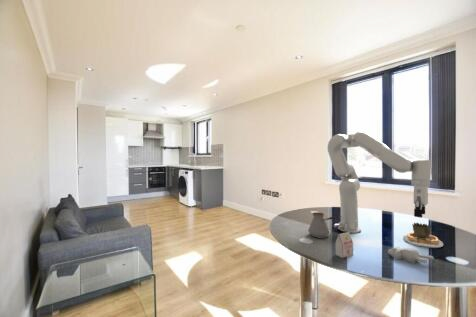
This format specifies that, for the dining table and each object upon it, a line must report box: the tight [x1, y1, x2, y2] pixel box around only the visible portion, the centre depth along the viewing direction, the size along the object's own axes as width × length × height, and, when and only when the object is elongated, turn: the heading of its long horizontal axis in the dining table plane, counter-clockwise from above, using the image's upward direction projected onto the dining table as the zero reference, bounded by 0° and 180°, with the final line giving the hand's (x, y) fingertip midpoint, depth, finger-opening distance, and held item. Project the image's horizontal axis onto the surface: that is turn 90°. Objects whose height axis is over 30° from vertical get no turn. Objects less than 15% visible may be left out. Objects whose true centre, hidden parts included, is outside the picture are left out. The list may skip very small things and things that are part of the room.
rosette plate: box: [402, 231, 444, 249], centre depth 116 cm, size 16×16×3 cm
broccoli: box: [412, 222, 432, 240], centre depth 116 cm, size 8×7×8 cm
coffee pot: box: [307, 211, 343, 239], centre depth 123 cm, size 21×12×15 cm, turn 27°
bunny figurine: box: [387, 246, 435, 264], centre depth 95 cm, size 10×5×15 cm
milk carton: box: [335, 232, 354, 259], centre depth 102 cm, size 4×7×10 cm, turn 113°
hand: (419, 215), depth 116 cm, fingers open, 9 cm apart
